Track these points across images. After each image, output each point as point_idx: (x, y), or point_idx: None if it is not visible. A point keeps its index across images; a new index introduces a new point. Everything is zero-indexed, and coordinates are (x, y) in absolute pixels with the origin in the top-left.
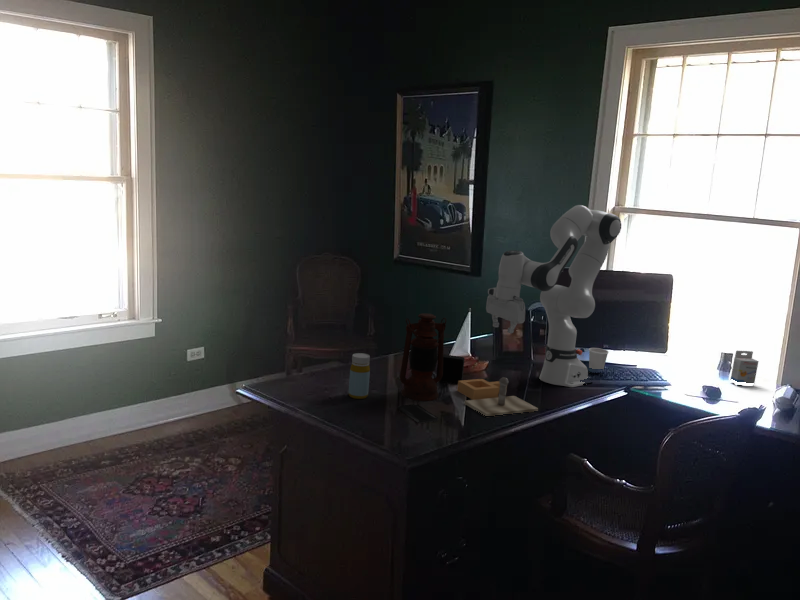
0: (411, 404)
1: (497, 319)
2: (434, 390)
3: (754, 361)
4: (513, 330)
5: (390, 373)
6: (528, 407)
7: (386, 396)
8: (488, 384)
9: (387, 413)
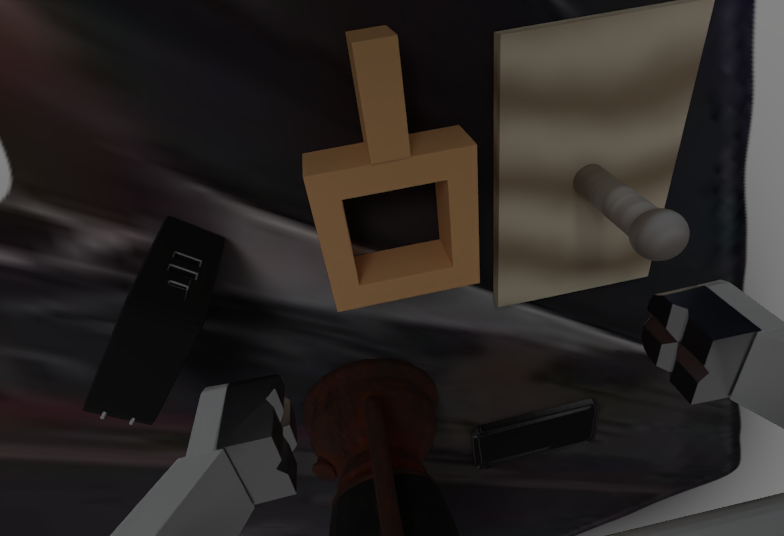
0: (474, 443)
1: (175, 514)
2: (427, 403)
3: None
4: (754, 307)
5: (100, 456)
6: (679, 53)
7: None
8: (414, 184)
9: (504, 482)
